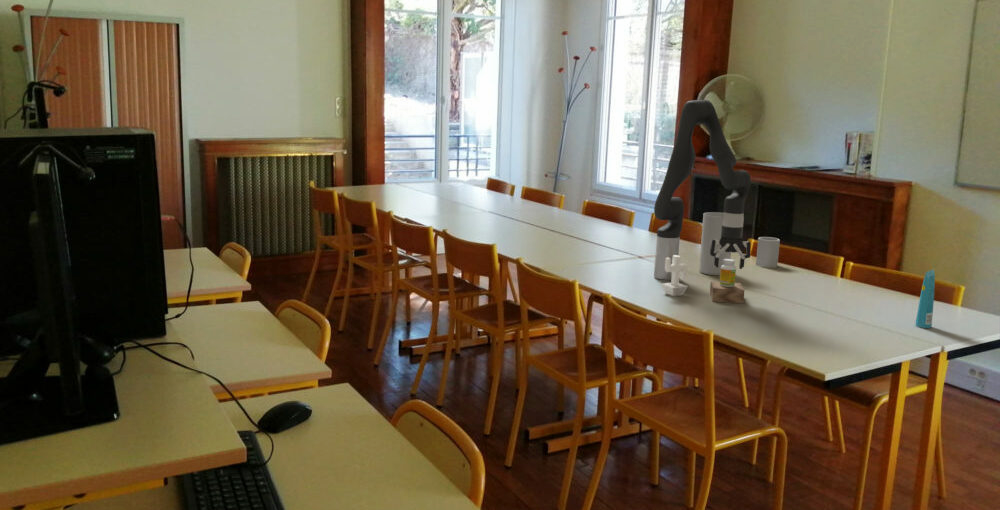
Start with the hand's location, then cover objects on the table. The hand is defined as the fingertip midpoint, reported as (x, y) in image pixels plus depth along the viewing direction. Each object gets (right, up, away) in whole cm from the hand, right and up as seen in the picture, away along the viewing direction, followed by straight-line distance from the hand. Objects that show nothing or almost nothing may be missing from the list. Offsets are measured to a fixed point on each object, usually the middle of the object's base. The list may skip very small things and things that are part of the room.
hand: (728, 267), depth 307 cm
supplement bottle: (0, -7, +1) cm, 7 cm away
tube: (+58, -19, -28) cm, 67 cm away
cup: (+34, 0, +64) cm, 72 cm away
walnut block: (0, -12, +2) cm, 12 cm away
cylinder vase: (+6, -3, +46) cm, 46 cm away
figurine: (-19, -10, +7) cm, 23 cm away
